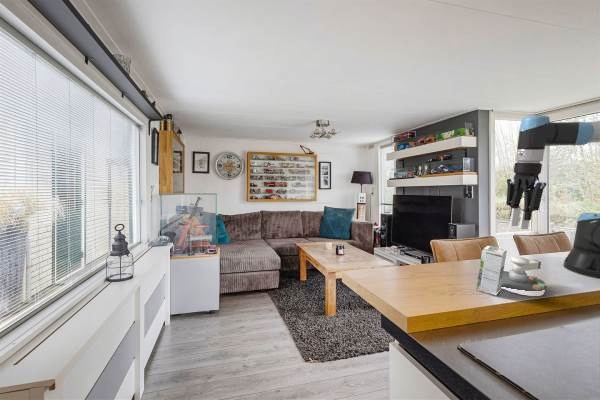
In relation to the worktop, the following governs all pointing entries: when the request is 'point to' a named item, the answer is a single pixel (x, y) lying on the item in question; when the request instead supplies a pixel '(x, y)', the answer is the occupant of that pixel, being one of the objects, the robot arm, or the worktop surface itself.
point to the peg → (524, 264)
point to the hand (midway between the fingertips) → (518, 227)
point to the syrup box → (491, 269)
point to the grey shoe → (522, 281)
